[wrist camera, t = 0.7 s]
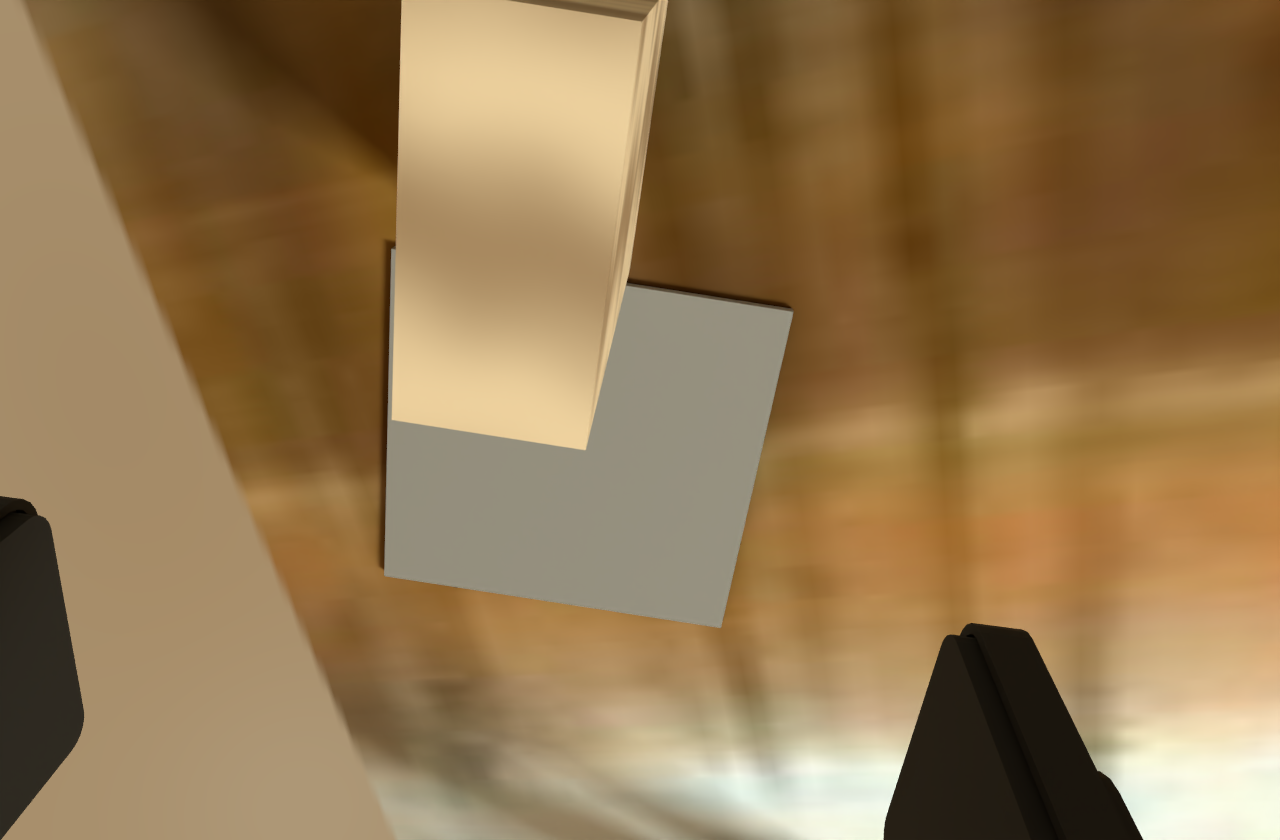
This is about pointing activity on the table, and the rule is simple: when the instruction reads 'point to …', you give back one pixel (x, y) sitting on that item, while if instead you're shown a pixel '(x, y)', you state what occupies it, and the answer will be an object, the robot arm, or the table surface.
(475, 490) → the mat
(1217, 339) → the table surface
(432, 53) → the slab
